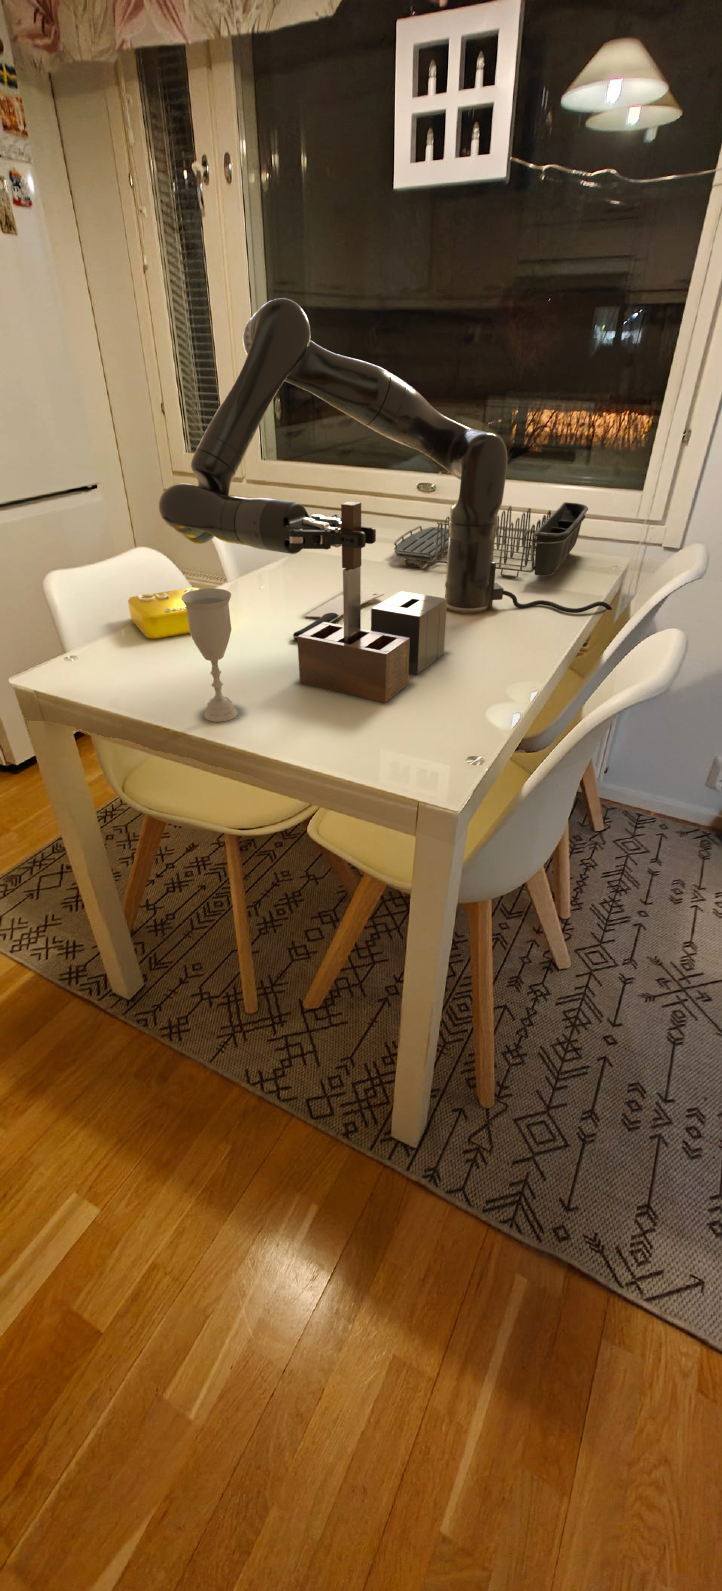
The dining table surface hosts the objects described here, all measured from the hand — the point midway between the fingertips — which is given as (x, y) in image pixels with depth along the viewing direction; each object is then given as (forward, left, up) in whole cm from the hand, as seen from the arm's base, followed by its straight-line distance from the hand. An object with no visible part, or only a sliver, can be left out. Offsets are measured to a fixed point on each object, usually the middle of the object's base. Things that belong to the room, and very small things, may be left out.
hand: (369, 538), depth 104 cm
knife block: (-9, -11, -23) cm, 27 cm away
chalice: (+24, +5, -24) cm, 34 cm away
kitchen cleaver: (+1, -37, -24) cm, 44 cm away
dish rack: (-44, -73, -24) cm, 89 cm away
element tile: (+32, -39, -24) cm, 55 cm away
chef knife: (+2, -2, -16) cm, 17 cm away
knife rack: (+2, -2, -23) cm, 24 cm away
